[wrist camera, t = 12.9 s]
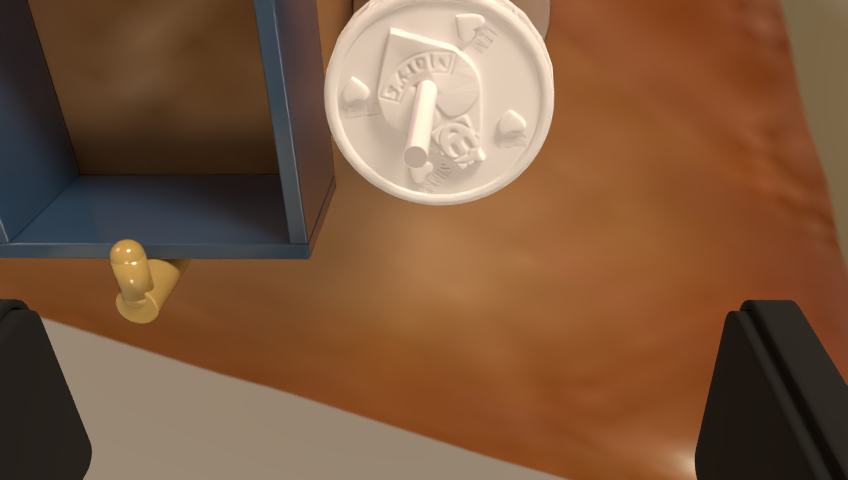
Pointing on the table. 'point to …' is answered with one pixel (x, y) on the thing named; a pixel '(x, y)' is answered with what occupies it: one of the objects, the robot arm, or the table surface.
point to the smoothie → (439, 97)
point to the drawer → (163, 194)
